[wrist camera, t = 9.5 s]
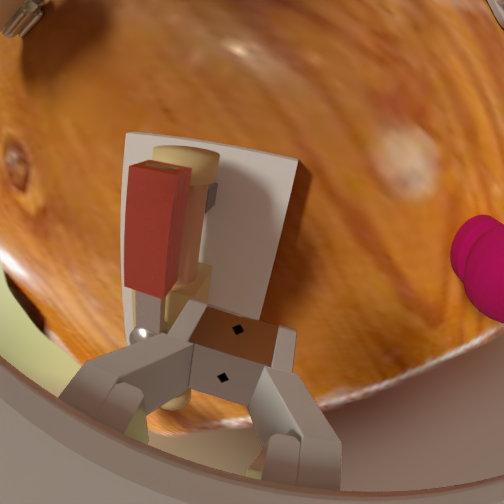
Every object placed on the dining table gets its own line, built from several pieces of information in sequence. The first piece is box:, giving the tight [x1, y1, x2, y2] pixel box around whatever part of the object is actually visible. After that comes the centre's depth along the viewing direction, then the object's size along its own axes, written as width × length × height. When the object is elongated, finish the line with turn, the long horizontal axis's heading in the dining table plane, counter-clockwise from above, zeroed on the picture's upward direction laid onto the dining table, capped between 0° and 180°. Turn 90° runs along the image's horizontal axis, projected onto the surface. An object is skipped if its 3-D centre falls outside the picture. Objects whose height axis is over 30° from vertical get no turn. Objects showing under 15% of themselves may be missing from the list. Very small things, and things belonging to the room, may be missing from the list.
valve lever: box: [124, 160, 192, 345], centre depth 16 cm, size 12×3×2 cm, turn 168°
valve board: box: [121, 132, 298, 411], centre depth 22 cm, size 13×23×8 cm, turn 169°
